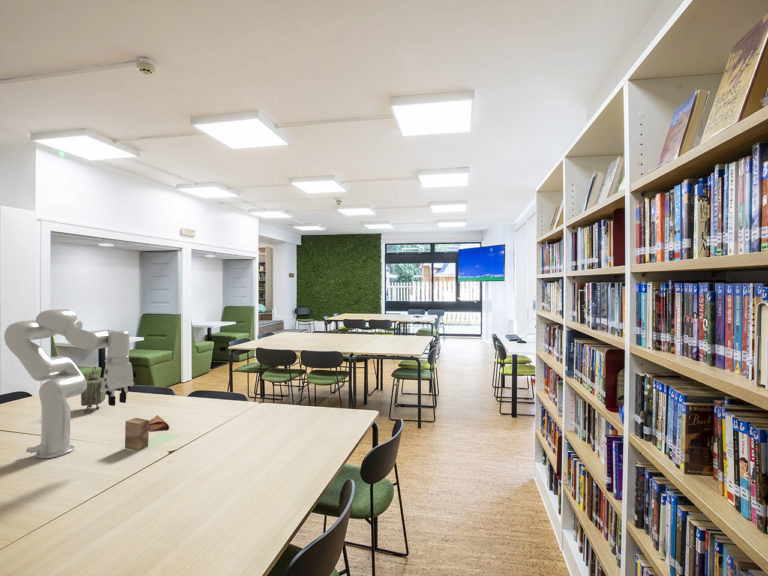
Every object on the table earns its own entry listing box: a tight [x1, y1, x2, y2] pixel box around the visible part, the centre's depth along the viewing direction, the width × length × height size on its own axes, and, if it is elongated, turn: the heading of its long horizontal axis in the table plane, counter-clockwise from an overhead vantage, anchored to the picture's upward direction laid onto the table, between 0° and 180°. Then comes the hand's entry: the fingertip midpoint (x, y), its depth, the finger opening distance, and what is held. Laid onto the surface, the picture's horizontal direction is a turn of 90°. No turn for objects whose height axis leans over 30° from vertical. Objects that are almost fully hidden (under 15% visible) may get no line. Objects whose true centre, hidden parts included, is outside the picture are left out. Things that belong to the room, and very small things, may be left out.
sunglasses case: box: [148, 414, 170, 433], centre depth 201 cm, size 18×7×7 cm
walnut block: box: [124, 417, 150, 451], centre depth 173 cm, size 5×8×12 cm, turn 68°
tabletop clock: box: [80, 366, 107, 413], centre depth 228 cm, size 14×9×25 cm, turn 25°
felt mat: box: [120, 432, 181, 454], centre depth 180 cm, size 22×11×1 cm, turn 158°
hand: (117, 403), depth 165 cm, fingers open, 3 cm apart
